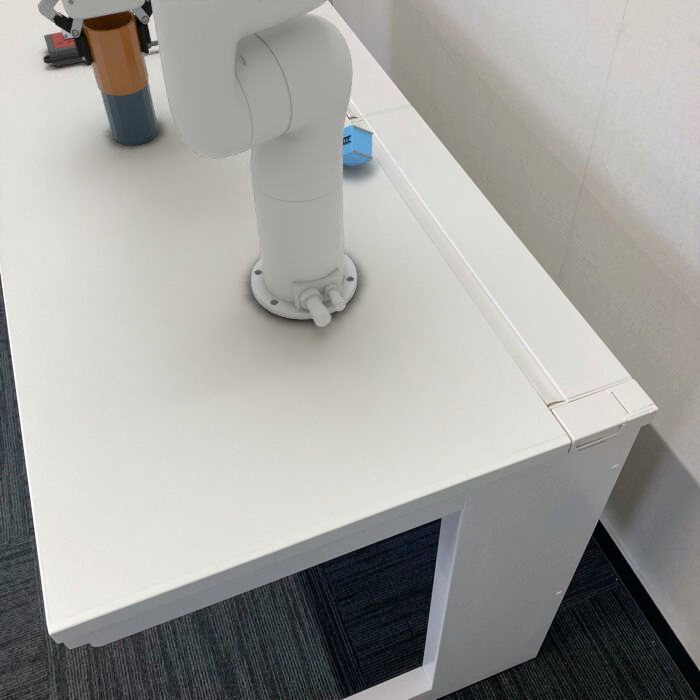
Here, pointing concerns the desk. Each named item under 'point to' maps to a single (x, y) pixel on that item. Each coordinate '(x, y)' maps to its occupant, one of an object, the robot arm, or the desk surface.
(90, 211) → the desk surface
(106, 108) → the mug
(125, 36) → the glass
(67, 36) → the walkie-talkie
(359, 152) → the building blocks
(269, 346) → the desk surface
